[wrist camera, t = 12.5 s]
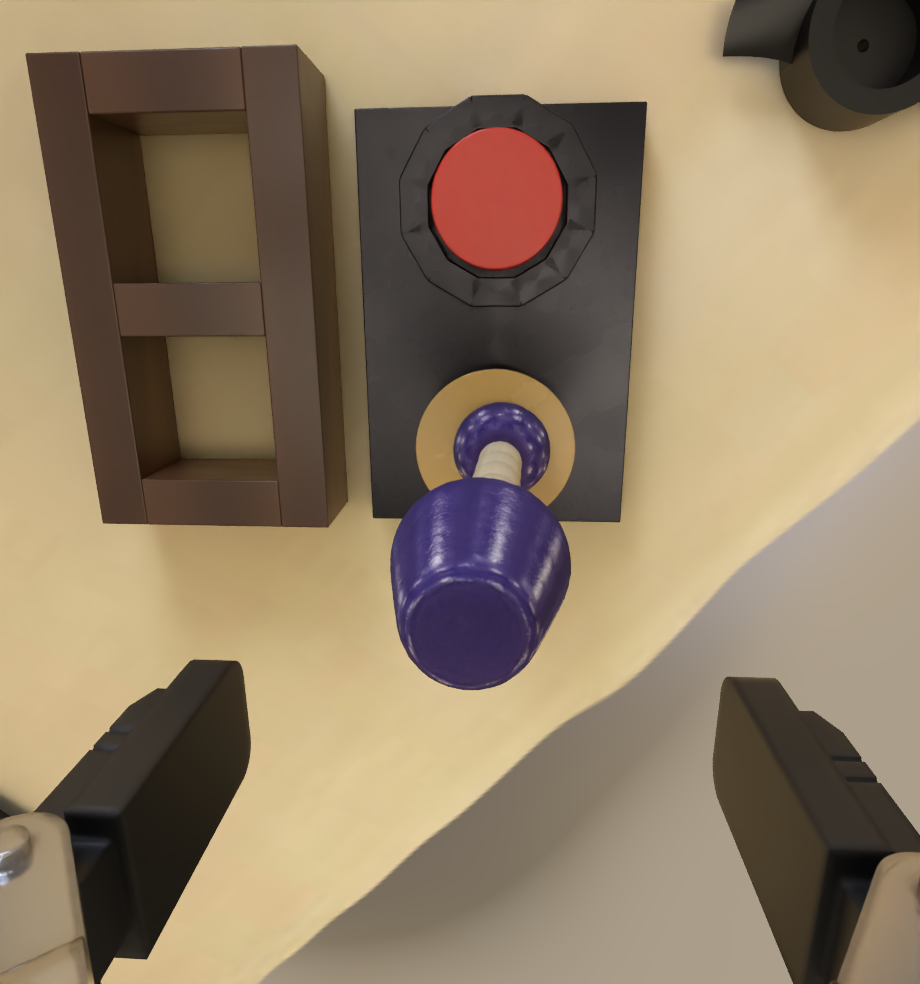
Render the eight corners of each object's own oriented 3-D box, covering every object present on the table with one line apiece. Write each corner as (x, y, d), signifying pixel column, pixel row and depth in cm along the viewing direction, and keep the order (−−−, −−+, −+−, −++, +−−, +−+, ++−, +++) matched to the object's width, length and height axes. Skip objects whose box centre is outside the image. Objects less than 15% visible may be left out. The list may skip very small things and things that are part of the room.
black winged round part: (845, -130, 26) (884, -178, 24) (1011, 59, 28) (1067, 34, 25) (696, 46, 28) (717, 20, 26) (859, 214, 30) (894, 207, 27)
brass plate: (414, 368, 30) (413, 369, 29) (578, 368, 29) (578, 369, 29) (418, 521, 32) (417, 523, 31) (571, 524, 31) (571, 526, 31)
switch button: (434, 139, 27) (429, 128, 25) (561, 137, 27) (565, 125, 25) (436, 271, 29) (431, 270, 27) (557, 270, 28) (560, 268, 26)
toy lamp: (479, 519, 31) (448, 766, 15) (418, 436, 30) (316, 605, 14) (569, 461, 30) (637, 660, 14) (508, 373, 29) (508, 478, 13)
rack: (145, 498, 36) (102, 523, 32) (85, 82, 30) (24, 52, 27) (348, 501, 35) (328, 527, 31) (324, 75, 30) (297, 44, 26)
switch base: (362, 118, 30) (344, 97, 27) (639, 111, 29) (656, 88, 26) (379, 507, 35) (365, 530, 32) (615, 511, 34) (626, 535, 31)
